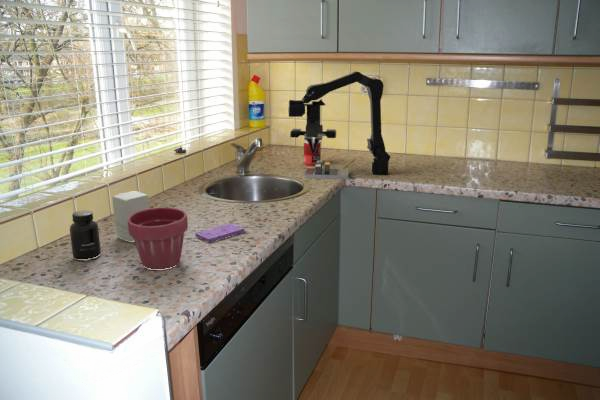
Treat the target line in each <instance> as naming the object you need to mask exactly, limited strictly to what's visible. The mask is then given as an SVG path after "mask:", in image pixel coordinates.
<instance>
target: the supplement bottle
mask: <svg viewBox="0 0 600 400" xmlns="http://www.w3.org/2000/svg"><path fill="white" fill-rule="evenodd" d="M71 217H72V223H71V225H70V226H69V234H70V235H69V236H70V242H71V253H72V257H74V258H76V259H88V258H93V257H96V256H98V255H99V254H100V253H101V254H102V251H101V242H100V241H101V239H100V230H99V225H98V222H96V221H95V220H94V215H93V211H91V210H78V211H75V212H73V213H72V216H71ZM74 258H73V259H74Z"/></svg>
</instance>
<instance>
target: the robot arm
mask: <svg viewBox="0 0 600 400" xmlns="http://www.w3.org/2000/svg"><path fill="white" fill-rule="evenodd" d="M354 83H359V84H361V85H362V86H364V87H366V91H367V96H368V98H369V103H370V104H369V105H370V129H371V131H370V132H371V135H370V138H366V142H367V146H366V148H367V149H368V151H369V153H370V154H372V156H373V161H372V162H371V173H372V174H373V175H377V176H378V175H380V176H382V175H383V176H386V175H387V176H388V175H389V164H390V163H389V161H390V159H391V155H390V154H389V153H388V152H387V150H386V146H385V141H384V139H383V136H382V110H381V106H382V105H381V100H382V96H383V93H384V87H385V85H384V82H383V81H382V80H381V79H379V78H376V77H369V76H366V75H365V74H364V73H363V74H362V73H361V72H359V71H357V70H355V71H353V72H351V73H349V74H345V75H343V76H341V77H337V78H335V79H333V80H330V81H329V80H328V81H327V82H321V83H315V84H311V85H310V84H309V85H308V87H306V90H305V95H304V96H303V97H302V99H301V100H296V99H295V100H294V99H289V101H288V118H296V117H297V118H300V117H301V118H303V116H304V115H305V114H306V125H305V130H302V128H293V129H291V131H290V135H289V136H290V138H299V137H300V136H304V137H303V138H304V140H307V141H308V143H309V145H310V148H311V151H312V154H315V150H316V147H317V144H318V142H319V140H320V141H322V139H323V138H324V137H326V138H327V139H336V138H337V130H336V129H335V128H333V129H330V128H327V129H325V131H324V129H323V128H324V126H323V124H321V106H326V103H325V102H324V101H323V100H322V99H321V98H322V97H325V96H326V95H327V94H329V93H331V92H333V91H336V90H338V89H341V88H343V87H346V86H348V85H349V86H350V85H352V84H354ZM313 138H314V139H315V140H314V148H313Z"/></svg>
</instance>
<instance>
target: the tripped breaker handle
mask: <svg viewBox="0 0 600 400" xmlns="http://www.w3.org/2000/svg"><path fill="white" fill-rule="evenodd" d="M324 169H325V172H329V171H330V169H331V162H330V161H325V162H324Z"/></svg>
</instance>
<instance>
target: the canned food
mask: <svg viewBox="0 0 600 400" xmlns="http://www.w3.org/2000/svg"><path fill="white" fill-rule="evenodd" d="M314 140H315V138H314V139H313V148H314ZM321 141H322V140H319V142H318V144H317V147H316V150H315V154H312V151H311V148H310V145H309V143H308V141H307V140H305V139H304V140H303V164H304V165H305V166H309V167H315V165H316V164H317V160H322V159H321V151H322V149H321V148H322V147H321V146H322V144H321Z"/></svg>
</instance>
